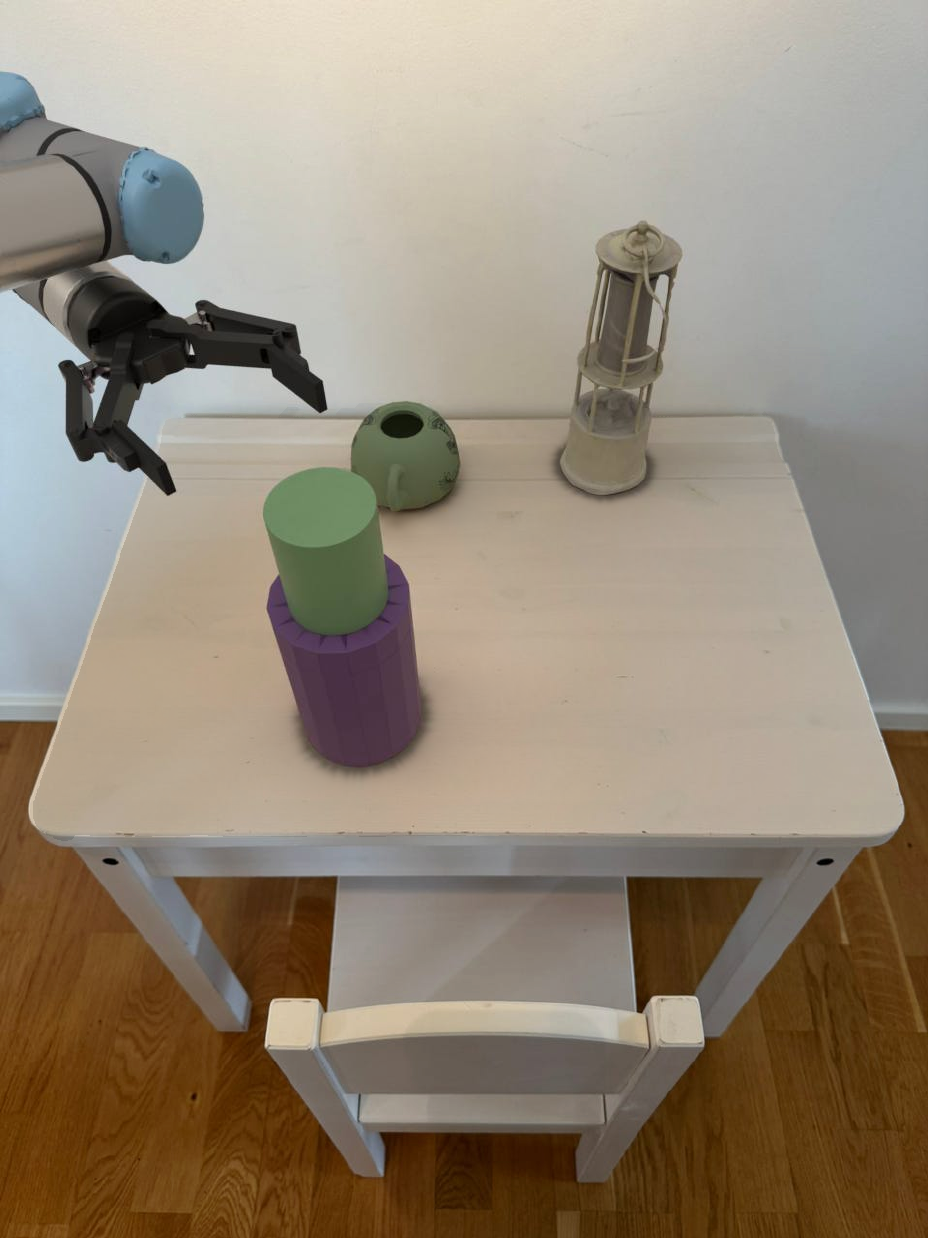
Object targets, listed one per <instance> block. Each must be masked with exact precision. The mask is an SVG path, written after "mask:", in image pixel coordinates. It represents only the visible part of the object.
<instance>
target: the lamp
mask: <svg viewBox="0 0 928 1238" xmlns="http://www.w3.org/2000/svg"><path fill="white" fill-rule="evenodd" d="M595 255H596V256H597V258H598V261H599V264H598V266H597V270H596V275H597V279H596V283H595V289H594V294H593V298H592V303H591V306H590V311H589V312H588V311H586V313H589V316H588V322H587V328H586V336H585V337H586V338H585V344H584V346H583V347H582V348H581V349H580V350H579V352H578V355H577V357H576V365H577V367H578V369H577V376H576V384H575V391H574V397H573V403H572V406H571V410H570V420H569V427H568V432H567V433H568V434H567V439H566V446H565V449H564V450H563V452H562V454H561V457H560V459H559V466H560V468H561V472H562V473H563V476H564V477H565V478H566V480H567V481H568V482H569V484H571V485H572V486H574V487H576V488H578V489H580V490H582V491H584V492H586V493H588V494H591V495H592V494H593V495H597V496H606V495H607V496H608V495H614V494H618V493H621V492H625V491H628V490H631V489H634V487H637V486H638V485H639V484H640V483H642V482H643V481H644V479H645V477H646V474H647V459H646V451H647V445H648V440H649V439H648V438H649V433H650V429H651V428H650V427H651V424H652V411H651V408H650V405H651V404H650V403H651V397H652V392H653V387H654V382H656V381H657V379H659V378H660V376H661V375H662V374H663V370H664V361H663V358H662V354H663V352H664V351H665V346H666V342H667V333H668V332H667V331H668V327H669V320H670V317H669V313H670V312H669V311H670V302H671V299H672V290H673V288H674V287H675V281H674V280H675V279H676V277H677V272H678V267H679V266H678V265H679V263H680V262H681V260H682V258H683V249H682V247H681V245H680V243H678V242H677V241H676V240H675V239H674V238H673V237H671V236H669V235H666V234H665V233H662V231H661V230H660V229H659V228H658V227H656V226H655V225H653V224H649V223H648V221H647V220H640V221H638V223H637V224H634V225H632V226H630V227H628V228H622V229H619V230H618V229H617V230H613V231H611V232H608V233H606V234H604V235H602V237H600V238H599V239H598V241H597V242H596V244H595ZM604 271H605V273H604ZM603 274H604V279H603V284H602V278H603ZM662 275H663V276H667V277H668V280H667V281H668V283H667V293H666V299H665V307H664V308H663V307H662V302H661V300H660V298H659V297H658V296H657V294H656V288H657V283H658V281H659V279H660V276H662ZM601 284H602V289H601ZM600 289H601V294H600ZM599 295H601V296H600V301H599V302H600V303H599V308H598V315H597V322H596V326H595V334H594V340H593V341H592V342H591V340H592V333H593V326H594V320H595V315H596V310H597V304H598V300H599ZM654 301H655V303H657V304H658V305H659V308H660V310H661V312H662V313H661V314H662V316H663V317H662V323H661V329H660V334H659V341H658V346H657V348H655V349H654V348H653V347H652V346H651V345H649V344H648V338H649V332H650V325H651V317H652V310H653V302H654ZM605 307H606V308H605ZM583 377H584V378H587V379H588V381H590V382H591V383H593V390H590V391H588V392H585V393H583V394H581V389H582V380H583V379H582V378H583ZM600 387H603V388H600ZM645 388H646V394H645V393H644V392H645ZM634 389H639V394H638V395H636V394H634V393H632V392H629V391H631V390H634ZM627 390H629V391H627ZM644 394H645V400H643V397H644Z"/></svg>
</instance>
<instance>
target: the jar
mask: <svg viewBox="0 0 928 1238" xmlns="http://www.w3.org/2000/svg"><path fill="white" fill-rule="evenodd" d="M384 560H385V567H386V575H387V582H388V591H389V594H388V600H387V604H386V606H385V608H384V610H383V611H382V613H381V614H380V615H379V617H378V618H377V619H376V620H375V621H373V622H372V623H371V624H369V625H368V626H366V627H365V628H363V629H361V630H358V631H356V632H353V633H350V634H345V635H336V636H333V635H322V634H317V633H314V632H312V631H309V630H307V629H305V628H304V627H302V626H301V625H300V624H299V623H298V622H296V620H295V619H294V618H293V616H292V615H291V613H290V610H289V607H288V604H287V600H286V597H285V593H284V589H283V586H282V582H281V579H280V575H279V574H277V576H276V577H275V579H274V580H273V582H272V583H271V585H270V586H269V591H268V597H267V603H266V608H265V609H266V612H267V615H268V618H269V622H270V625H271V628H272V631H273V634H274V637H275V640H276V644H277V647H278V651H279V653H280V656H281V659H282V662H283V666H284V669H285V672H286V675H287V678H288V682H289V685H290V688H291V691H292V694H293V697H294V700H295V704H296V707H297V711H298V713H299V716H300V720H301V722H302V726H303V729H304V732H305V734H306V738H307V740H308V741H309V743H310V744H311V746H312V748H314V750H315V751H316V752H317V753H318V754H320V755H321V756H322V757H324V758H325V759H327V760H329V761H330V762H333V763H335V764H339V765H342V766H346V767H358V768H359V767H368V766H374V765H377V764H381V763H384V762H386V761H389V760H390V759H393V758H394V757H396V756H397V755H398V754H400V753H401V752H402V751H404V750H405V748H406V747H407V746H408V745H409V744H410V743H411V742H412V740H413V739H414V737H415V735H416V733H417V732H418V729H419V726H420V723H421V718H422V717H421V716H422V709H421V708H422V699H421V690H420V678H419V670H418V660H417V650H416V642H415V630H414V620H413V611H412V602H411V591H410V584H409V582H408V579H407V578H406V575H405V574H404V571H403V570H402V568H401V566H400V565H399V564H398V563H397V562H395V561H394V560H393V559H392V558H390V557H389V556H387V554H385V553H384Z"/></svg>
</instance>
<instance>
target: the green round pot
mask: <svg viewBox="0 0 928 1238" xmlns="http://www.w3.org/2000/svg"><path fill="white" fill-rule="evenodd" d="M350 448H351V449H350V471H351V472H353V473H355V474H357V475H359V476H361V477H362V478H363V479H365V480H366V481H367V482H368V483H369V484H370V485H371V487H372V488H373V490H374V492H375V495H376V499H377V506H380V507H385V508H389V510H390V511H392V512H398V511H400V510H409V509H421V508H423V507H425V506H428V505H431V504H433V503H436V502H438V501H440V500H441V499H442V498H443V497H445V496H446V495H447V494H448V493H450V491H452V490H453V488H454V486H455V483H456V481H457V478H458V476H459V472H460V467H461V458H460V452H459V448H458V443H457V439H456V435H455V434H454V431H453V430H452V428H451V427H450V425H449V424H448V423H447V422H446V421H445V419H444V418H443V417H442V415H441V414H440V413H439V412H438V411H437V410H434V409H433V408H431V407H429V406H426V405H425V404H422V403H421V402H414V401H408V400H404V401H392V402H389V403H387V404H384V405H381V406H379V407H377V408H375V409H374V410H373V411H371V413H369V414H368V415H367V416H365V417H364V418H363V420H362V421H361V423H360V425H359V427H358V429H357V431H356V432H355V435H354V436H353V439H352V442H351V447H350Z"/></svg>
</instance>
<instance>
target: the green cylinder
mask: <svg viewBox="0 0 928 1238" xmlns="http://www.w3.org/2000/svg"><path fill="white" fill-rule="evenodd" d="M378 506H379V505H378V504H377V499H376V495H375V492H374V490H373V488H372V487H371V485H370V484H369V483H368V482H367V481H366V480H365V479H363V478H362V477H361V476H359V475H357V474H355V473H353V472H351V470H347V469H344V468H339V467H328V466H321V467H313V468H308V469H305V470H301V471H299V472H295V473H293V474H291V475H289V476H287V477H286V478H284V479H283V480H281V481H280V482H278V483H277V484H276V485H275V486H274V487H273V488H272V489H271V491H270V492H269V493H268V495H267V496H266V498H265V501H264V504H263V509H262V517H263V523H264V526H265V530H266V532H267V536H268V539H269V540H268V541H269V543H270V546H271V551H272V553H273V557H274V561H275V565H276V568H277V571H278V575H280V579H281V582H282V586H283V589H284V593H285V597H286V600H287V604H288V607H289V610H290V613H291V615H292V616H293V618H294V619H295V620H296V622H298V623H299V624H300V625H301V626H302V627H304V628H305V629H307V630H309V631H312V632H314V633H317V634H322V635H333V636H336V635H345V634H350V633H353V632H356V631H358V630H361V629H363V628H365V627H366V626H368V625H369V624H371V623H372V622H373V621H375V620H376V619H377V618H378V617H379V615H380V614H381V613H382V611H383V610H384V608H385V606H386V604H387V600H388V594H389V591H388V582H387V575H386V567H385V560H384V554H385V553H384V546H383V538H382V530H381V523H380V516H379V507H378Z"/></svg>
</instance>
